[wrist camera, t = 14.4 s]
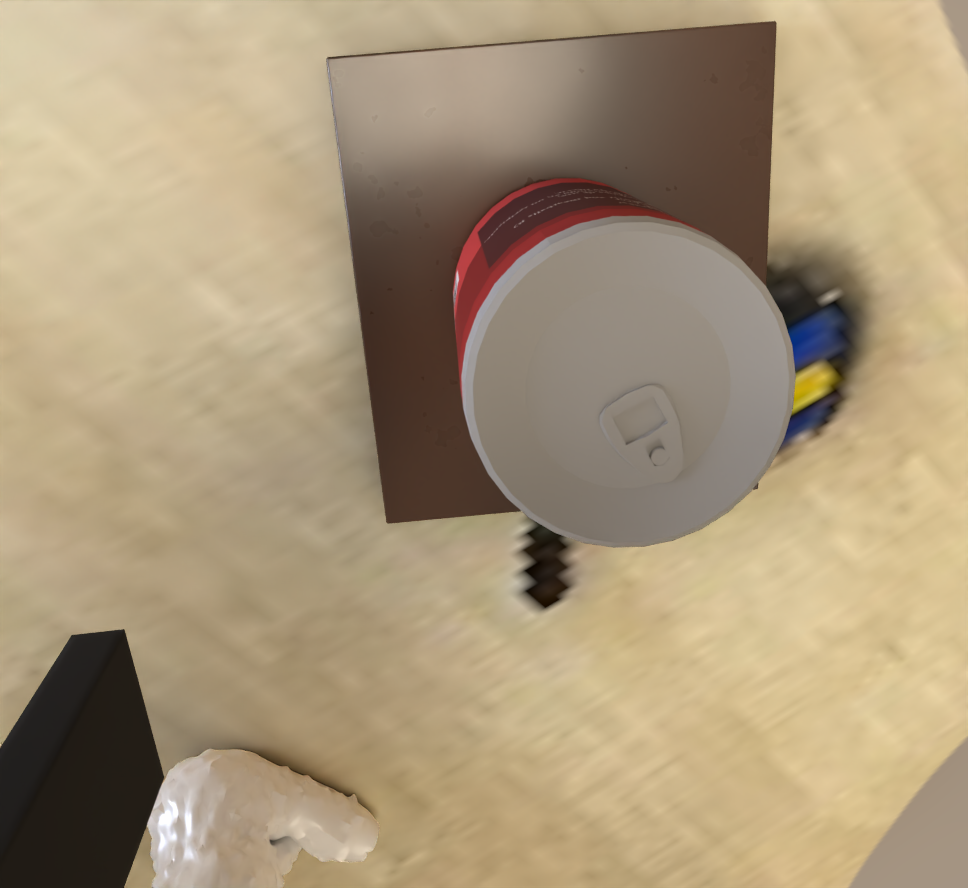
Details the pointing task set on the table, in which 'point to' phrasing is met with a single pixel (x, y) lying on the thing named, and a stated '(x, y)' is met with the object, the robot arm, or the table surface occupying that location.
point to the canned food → (616, 364)
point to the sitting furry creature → (249, 823)
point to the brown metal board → (508, 168)
